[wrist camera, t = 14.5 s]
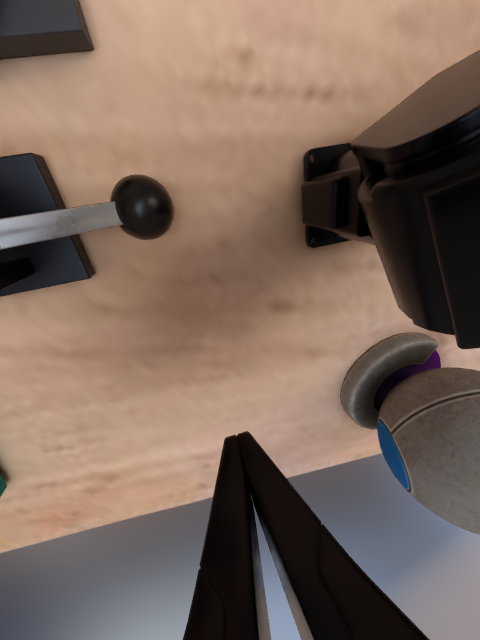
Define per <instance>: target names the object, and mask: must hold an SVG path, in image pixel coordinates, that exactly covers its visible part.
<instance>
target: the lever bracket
mask: <svg viewBox="0 0 480 640" xmlns="http://www.w3.org/2000/svg"><path fill="white" fill-rule="evenodd" d="M60 209H66V207H65V205H64V203H63V201H62V198H61V196H60V194H59V192H58V189H57V187H56V185H55V183H54V181H53V178H52V176H51V174H50V172H49V169H48V167H47V165H46V163H45V160H44V158H43V157H42V156H40V155H37V154H33V153H25V154H18V155H11V156H4V157H0V219H1V218H8V217H14V216H21V215H28V214H34V213H41V212H47V211H54V210H60ZM94 274H95V272H94V270H93V268H92V265H91V263H90V261H89V259H88V256H87V254H86V252H85V250H84V247H83V245H82V243H81V241H80V239H79V236H78V234H75V235H70V236H65V237H60V238H55V239H50V240H45V241H40V242H35V243H31V244H26V245H21V246H16V247H11V248H6V249H1V250H0V297H1V296H6V295H11V294H15V293H20V292H25V291H30V290H35V289H40V288H45V287H50V286H55V285H60V284H65V283H69V282H74V281H79V280H84V279H89V278H91V277H92V276H93V275H94Z"/></svg>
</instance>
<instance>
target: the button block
mask: <svg viewBox="0 0 480 640" xmlns="http://www.w3.org/2000/svg"><path fill="white" fill-rule="evenodd" d="M93 49H94V47H93V44H92V41H91V38H90V35H89V31H88V28H87V25H86V22H85V18H84V15H83V12H82V9H81V6H80V2H79V0H0V59H2V58H12V57H23V56H33V55H44V54H54V53H65V52H75V51H86V50H93Z"/></svg>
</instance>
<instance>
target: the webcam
mask: <svg viewBox="0 0 480 640" xmlns="http://www.w3.org/2000/svg"><path fill="white" fill-rule="evenodd" d="M437 346H438V343H437V342H436V341H435V340H434V339H432V338H431V337H429V336H427V335H425V334H421V333H405V334H400V335H396V336H393V337H391V338H388V339H386V340H384V341H382V342H380V343H379V344H377V345H376V346H374V347H373V348H371V349H370V350H369V351H367V352H366V353H365V354H364V355H363V356H362V357H361V358H360V359H359V360H358V361H357V362H356V363H355V365H354V366H353V367H352V369H351V370H350V372H349V373H348V375H347V377H346V379H345V381H344V384H343V387H342V391H341V402H342V406H343V408H344V410H345V412H346V413H347V414H348V415H349V417H350V418H351V419H352V420H353V421H354V422H356V423H357V424H358V425H360V426H362V427H364V428H368V429H377V430H378V438H379V443H380V447H381V450H382V453H383V455H384V457H385V460H386V461H387V464H388V465H389V467H390V469H391V470H392V472H393V474H394V475H395V477H396V478H397V479H398V480H399V482H400V483H401V484H402V486H403V487H404V488H405V489H406V490H407V491H408V492H409V493H410V494H411V495H412V496H413V497H414V498H415V499H416V500H417V501H418V502H420V503H421V504H422V505H424V506H425V507H426V508H428V509H429V510H431V511H432V512H433V513H434V514H436V515H438V516H440V517H441V518H443V519H445V520H446V521H448V522H450V523H452V524H454V525H456V526H458V527H461V528H463V529H465V530H468V531H471V532H474V533H477V534H480V371H476V370H472V369H464V368H449V367H448V368H440V367H441V363H440V357H439V354H438V353H437V351H436V350H435V349H436V348H437Z"/></svg>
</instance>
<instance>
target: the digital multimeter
mask: <svg viewBox="0 0 480 640" xmlns="http://www.w3.org/2000/svg"><path fill="white" fill-rule="evenodd" d="M6 487H7V484H6V483H5V481H4V479H3V478H2V476H1V474H0V497H1V495H2V493H3V492H4V490H5V489H6Z"/></svg>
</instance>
